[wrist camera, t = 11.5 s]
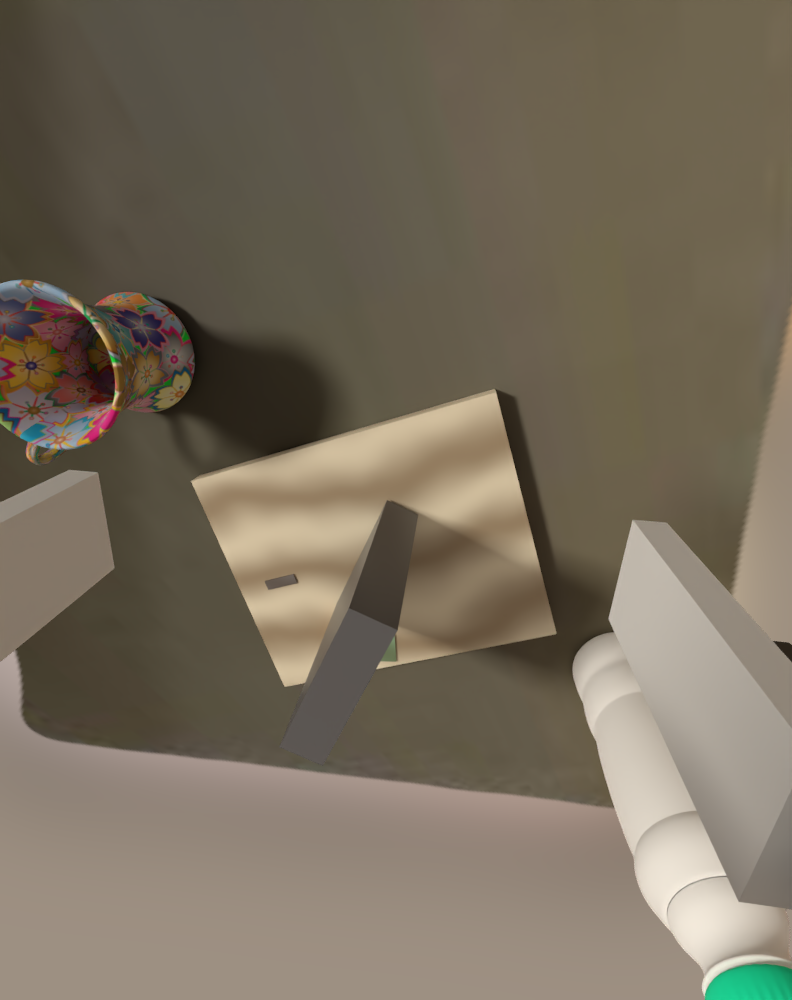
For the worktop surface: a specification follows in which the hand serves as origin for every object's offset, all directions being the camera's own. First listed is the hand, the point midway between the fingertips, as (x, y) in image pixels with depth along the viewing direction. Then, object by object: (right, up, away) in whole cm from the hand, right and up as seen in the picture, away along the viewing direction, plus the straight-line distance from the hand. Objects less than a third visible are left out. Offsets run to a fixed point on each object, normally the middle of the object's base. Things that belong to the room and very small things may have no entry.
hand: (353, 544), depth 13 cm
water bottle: (+19, -13, +31) cm, 39 cm away
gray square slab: (-1, -5, +29) cm, 29 cm away
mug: (-18, +11, +27) cm, 34 cm away
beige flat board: (0, -3, +30) cm, 30 cm away
